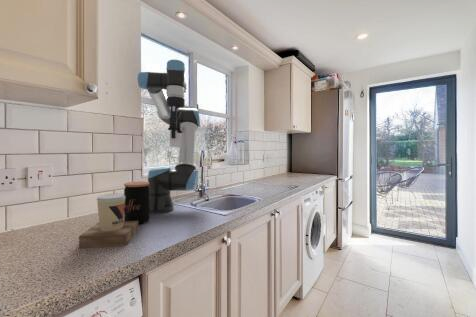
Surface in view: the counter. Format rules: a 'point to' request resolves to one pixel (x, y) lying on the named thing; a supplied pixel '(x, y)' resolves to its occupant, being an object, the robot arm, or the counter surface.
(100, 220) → the coffee cup
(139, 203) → the coffee jar
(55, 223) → the counter surface
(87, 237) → the walnut riser
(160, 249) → the counter surface
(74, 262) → the counter surface
